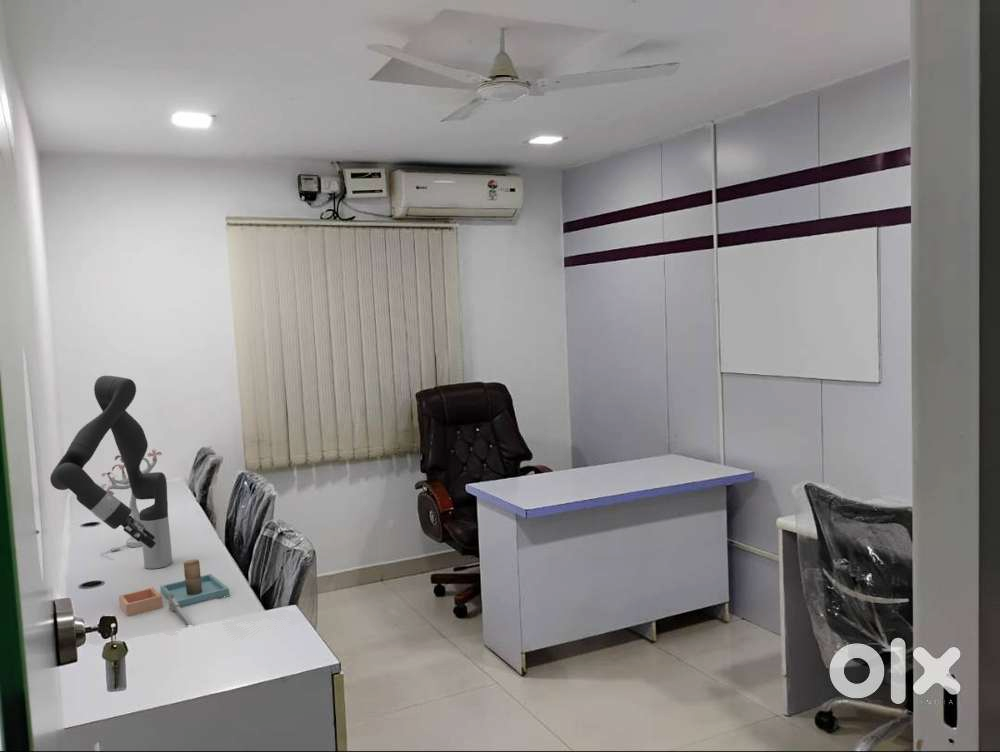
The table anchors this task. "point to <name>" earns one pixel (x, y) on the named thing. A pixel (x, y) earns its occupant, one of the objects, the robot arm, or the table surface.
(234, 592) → the table surface
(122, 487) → the decorative lamp
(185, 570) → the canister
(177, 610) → the caliper
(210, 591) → the tray
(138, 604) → the peach open box
